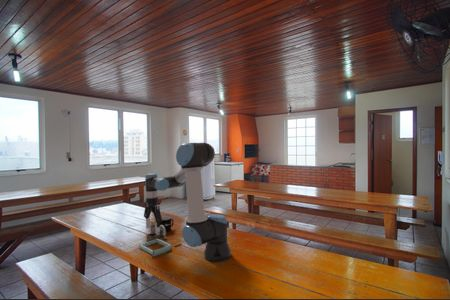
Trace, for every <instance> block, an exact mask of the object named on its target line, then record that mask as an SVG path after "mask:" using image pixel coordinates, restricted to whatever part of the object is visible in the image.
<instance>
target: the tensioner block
mask: <svg viewBox="0 0 450 300" xmlns="http://www.w3.org/2000/svg"><path fill="white" fill-rule="evenodd" d="M166 235H167V232H166V229H165V227H164V226H163V225H160V232H156V231H155V235H154V236H151V232H150V233H148V234H147V233H146V236H145V237H146V239H145V241H146V242H149V241H152V240H155V239H159V240H164V239H167V236H166Z"/></svg>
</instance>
